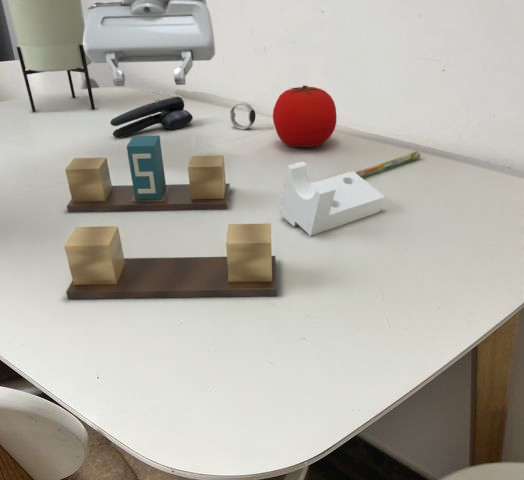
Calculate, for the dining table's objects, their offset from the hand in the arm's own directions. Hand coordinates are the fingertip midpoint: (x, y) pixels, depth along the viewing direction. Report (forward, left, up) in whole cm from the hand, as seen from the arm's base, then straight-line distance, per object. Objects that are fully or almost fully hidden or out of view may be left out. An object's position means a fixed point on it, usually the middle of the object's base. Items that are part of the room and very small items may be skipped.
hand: (149, 83), depth 87 cm
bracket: (+28, -17, -15) cm, 36 cm away
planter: (-30, +50, -15) cm, 60 cm away
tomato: (+25, +16, -15) cm, 33 cm away
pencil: (+38, +1, -15) cm, 40 cm away
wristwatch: (+13, +28, -15) cm, 34 cm away
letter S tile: (0, -10, -14) cm, 17 cm away
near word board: (+7, -35, -15) cm, 38 cm away
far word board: (0, -10, -15) cm, 18 cm away
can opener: (-6, +28, -15) cm, 33 cm away
